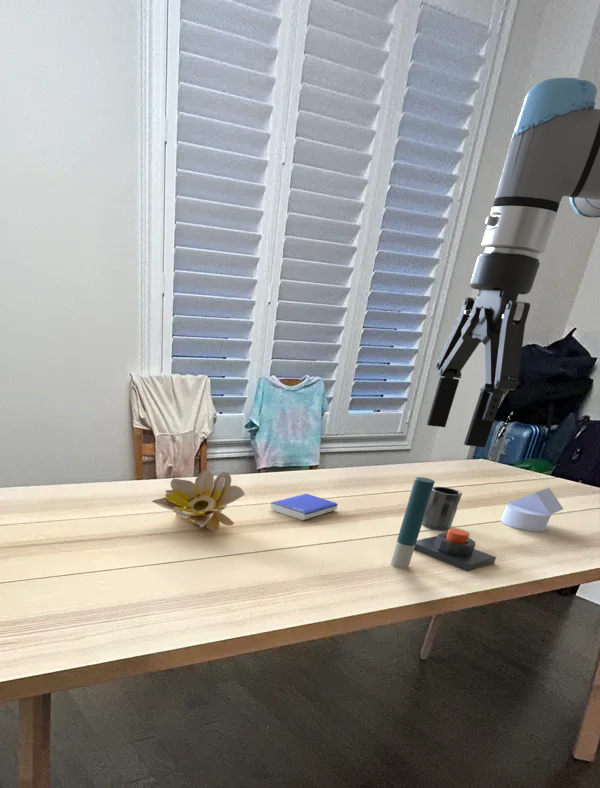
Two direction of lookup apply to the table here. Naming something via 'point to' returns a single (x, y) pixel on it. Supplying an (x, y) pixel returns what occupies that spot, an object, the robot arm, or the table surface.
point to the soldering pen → (412, 522)
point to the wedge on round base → (531, 511)
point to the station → (454, 552)
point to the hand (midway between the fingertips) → (453, 435)
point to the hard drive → (303, 506)
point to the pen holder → (441, 508)
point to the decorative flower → (202, 499)
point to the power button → (457, 536)
